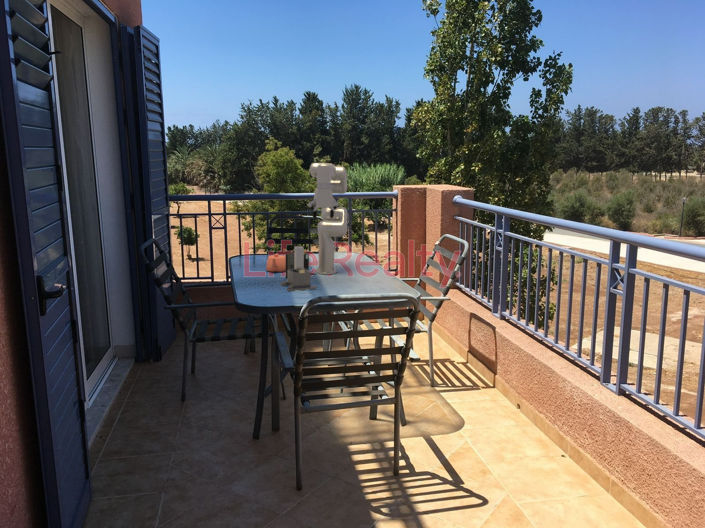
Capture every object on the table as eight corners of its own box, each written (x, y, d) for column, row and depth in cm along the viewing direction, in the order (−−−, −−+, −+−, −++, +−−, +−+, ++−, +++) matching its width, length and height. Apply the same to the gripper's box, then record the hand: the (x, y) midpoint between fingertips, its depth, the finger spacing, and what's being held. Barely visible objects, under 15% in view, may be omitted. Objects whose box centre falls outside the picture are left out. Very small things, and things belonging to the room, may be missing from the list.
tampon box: (297, 280, 319) (298, 255, 316) (285, 278, 324) (285, 253, 321) (309, 277, 328) (309, 252, 325) (296, 275, 333) (296, 250, 330)
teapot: (288, 268, 351) (288, 251, 349) (282, 274, 333) (282, 257, 331) (270, 267, 352) (270, 251, 350) (263, 273, 334) (263, 256, 332)
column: (294, 275, 306) (294, 246, 303) (301, 275, 307) (301, 246, 304) (296, 277, 302) (296, 248, 298) (303, 277, 303) (304, 247, 300)
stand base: (280, 284, 310) (280, 265, 308) (308, 282, 316) (308, 264, 314) (288, 291, 296) (288, 272, 294) (317, 289, 302) (317, 270, 300)
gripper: (336, 186, 314) (335, 216, 317) (306, 186, 307) (306, 217, 311) (341, 187, 307) (340, 218, 311) (310, 187, 301) (310, 219, 304)
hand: (323, 218), depth 311 cm, fingers open, 9 cm apart
